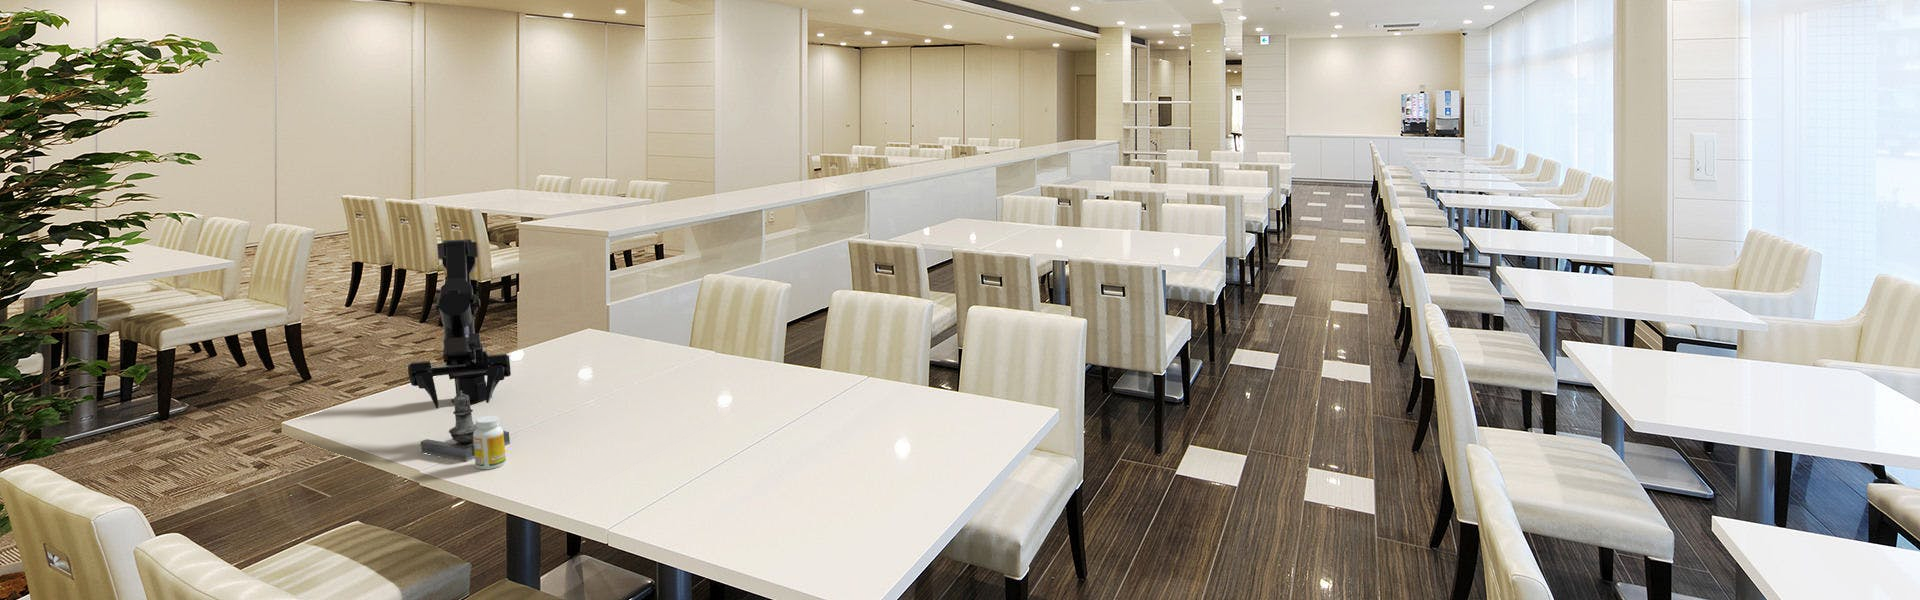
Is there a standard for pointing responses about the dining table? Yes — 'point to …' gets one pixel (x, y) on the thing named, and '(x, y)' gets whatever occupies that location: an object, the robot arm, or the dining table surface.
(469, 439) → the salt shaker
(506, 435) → the floor track
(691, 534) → the dining table surface
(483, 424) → the supplement bottle
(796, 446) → the dining table surface
